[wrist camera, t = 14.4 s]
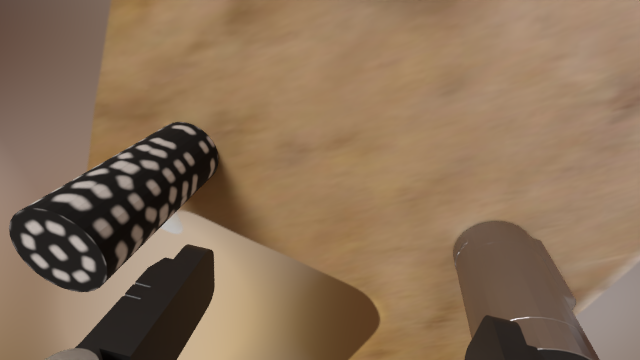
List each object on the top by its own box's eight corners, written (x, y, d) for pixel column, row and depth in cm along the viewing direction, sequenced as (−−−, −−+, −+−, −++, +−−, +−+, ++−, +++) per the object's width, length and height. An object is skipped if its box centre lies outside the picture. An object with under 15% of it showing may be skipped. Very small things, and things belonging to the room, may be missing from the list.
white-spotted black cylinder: (230, 168, 45) (127, 278, 28) (183, 189, 48) (64, 301, 31) (192, 111, 42) (51, 193, 25) (145, 137, 45) (-11, 227, 28)
